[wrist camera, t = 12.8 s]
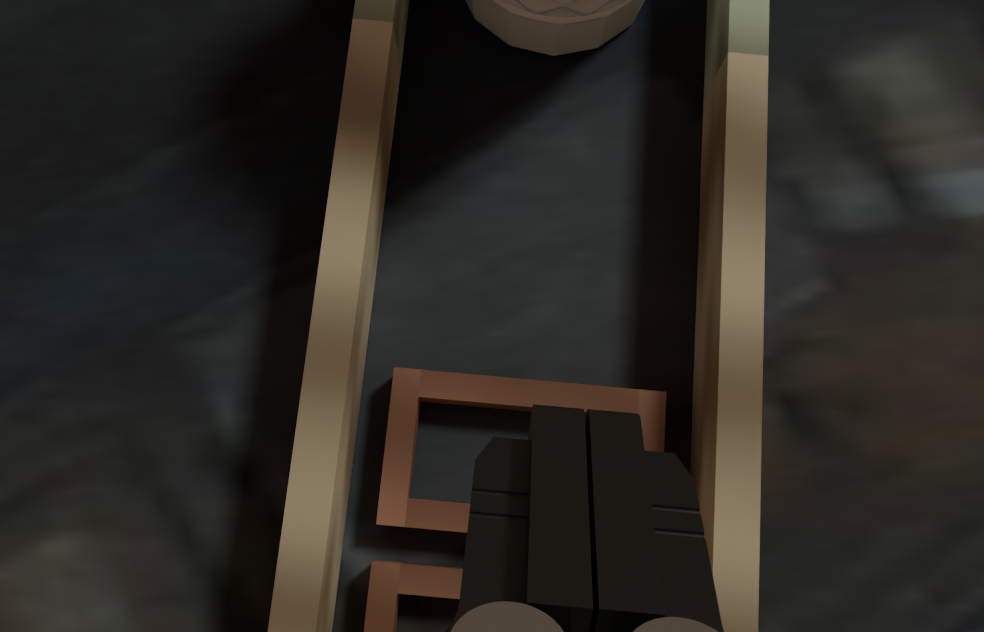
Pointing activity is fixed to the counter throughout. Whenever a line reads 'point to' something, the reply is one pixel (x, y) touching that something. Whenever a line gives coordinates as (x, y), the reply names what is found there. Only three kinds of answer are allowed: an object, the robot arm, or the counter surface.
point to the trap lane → (342, 352)
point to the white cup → (555, 22)
